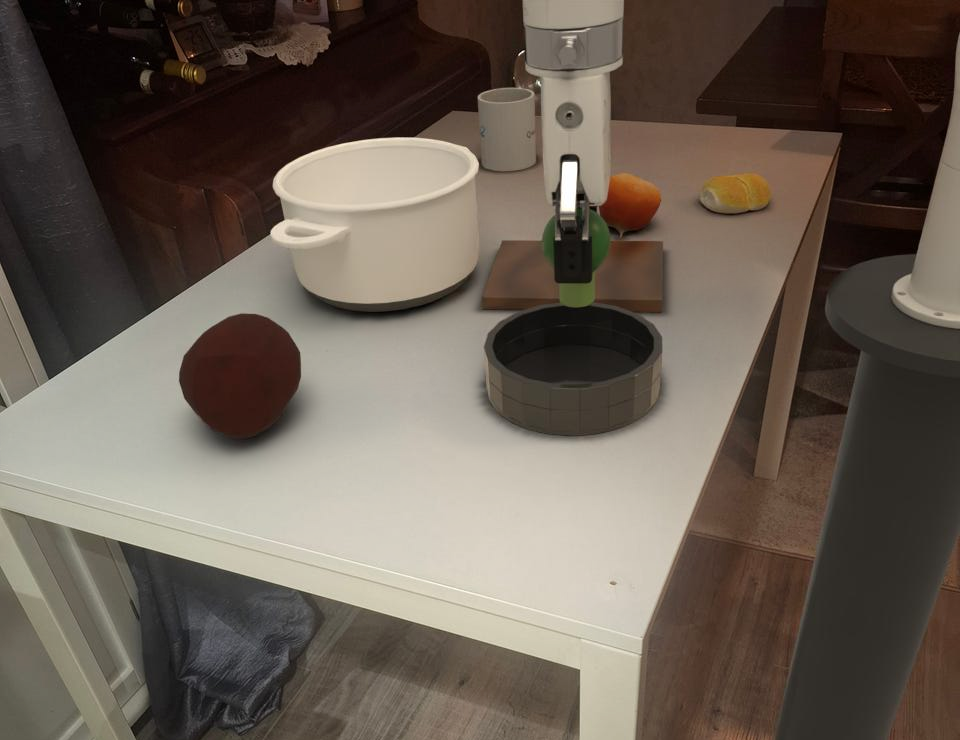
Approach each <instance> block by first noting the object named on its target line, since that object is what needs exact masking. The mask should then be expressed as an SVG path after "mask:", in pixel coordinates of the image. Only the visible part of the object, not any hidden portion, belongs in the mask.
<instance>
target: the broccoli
mask: <svg viewBox="0 0 960 740" xmlns="http://www.w3.org/2000/svg"><path fill="white" fill-rule="evenodd" d="M577 216H581V220H582V209H577ZM541 236H542V237H541V241H542V250H543V254H544V257H545V259H546V261H547V262H548V264H549V265H550V266H551V267H552V268H553V269H554V246H553V238H554V237H555V214H554V215H553V216H551V218H550V219H549V220H548V222H547V223H546V225H545V226H544V229H543V232H542V235H541ZM589 237H592V281H591V282H590V283H559V299H560V302H561V303H562V304H563V305H565V306H568V307H584V306H587V305H590V304H591V303H593V302H594V300H595V271H596V270H597V269H598V268H599V267H600V266H601V265H602V264H603V263H604V261H605V260H606V258H607V256H608V253H609V250H610V244H611V241H612V239H611V233H610V229H609V226H607V224H606V222H605V221H604V220H603V218H602V217H601V216H600V213H598V212H597V213H596V212H595V211H593V210H591V209H589Z"/></svg>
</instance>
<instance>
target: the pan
mask: <svg viewBox="0 0 960 740" xmlns="http://www.w3.org/2000/svg"><path fill="white" fill-rule="evenodd" d="M483 357H484V371H485V373H484V375H485V387H486V390H487V397H488V400H489V402H490V404H491V405H492V407H493V409H494V410H495V411H496V412H497V413H498V414H499V415H500V416H502V417H503V418H504V419H506V420H507V421H509V422H511V423H512V424H514V425H516V426H519V427H520V428H523V429H525V430H529V431H533V432H537V433H540V434H541V433H542V434H547V435H553V436H554V435H555V436H564V437H565V436H569V437H570V436H572V437H573V436H574V437H575V436H576V437H577V436H589V435H596V434H604V433H607V432H610V431H611V432H612V431H614V430H618V429H621V428H624V427H627V426H628V425H630V424H633V423H634V422H636V421H637V420H639V419H641V418H642V417H644V416H645V415H646V414H647V413H648V412H649V411H650V410H651V409H652V408H653V407H654V405H655V404H656V402H657V400H658V397H659V394H660V391H661V375H662V363H663V362H662V361H663V336H662V335H661V333H660V332H659V330H658V328H657V327H656V325H655V324H654V323H652V322H651V321H649V320H648V319H646V318H644V316H642V315H640V314H639V313H638V312H631V311H629V310H626V309H623V308H620V307H617V306H613V305H607V304H601V303H595V302H593V303H591V304H590V305H587V306H584V307H568V306H565V305H563V304H562V303H561V302H560V303H553V304H545V305H539V306H536V307H533V308H529V309H526V310H519V311H517V312H515V313H513V314H511V315H510V316H507V317H506V318H504V319H502V320H500V321H499V322H497V324H495V326H493V328H491V329H490V331H489V332H488V333H487V336H486V338H485V342H484V345H483Z"/></svg>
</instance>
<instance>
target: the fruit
mask: <svg viewBox="0 0 960 740" xmlns="http://www.w3.org/2000/svg"><path fill="white" fill-rule="evenodd" d="M661 202H662V196H661V191H660V190H659V189H657V187H656V185H654V184H653V183H652V182H650V181H647V180H645V179H642V178H640V177H639V176H637V175H635V176H634V175H632V174H630V173H627V172H620V173H619V174H615V175H612V176H611V175H610V182H609V189H608V195H607V200H606V201H605V203H604V204H602V205H601V206H598V210H599V215H600V216H601V217H602V218H603V220H604V221H605V222H606V224H607V226H608V227H610V228H611V227H612V228H614V229H616V231H617V232H618V233H619V238H620V239H622V238H623V234H624V233H626V232H630V231H640V230H641V229H644V228H646V227H648V225H649V224H650V222H651V221H652V219H653V217H654V216H655V215H656V213H657V212H658V210H659V208H660V206H661Z"/></svg>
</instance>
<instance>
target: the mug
mask: <svg viewBox="0 0 960 740" xmlns="http://www.w3.org/2000/svg"><path fill="white" fill-rule="evenodd" d="M535 98H536V97H535V92H534V91H533V90H531V89H528V88H522V87H500V88H494V89H489V90H486V91H483V92H481V93H479V94H478V95H477V109H478V110H477V111H478V126H479V127H478V129H479V142H480V143H479V144H480V157H481V158H480V159H481V160H480V161H481V166H482V167H484V169H486V170H490V171H494V172H515V171H521V170H525V169H528V168H530V167H532V166H534V165H535V164H536V163H537V146H536V145H537V143H536V102H535V100H536V99H535Z"/></svg>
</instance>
